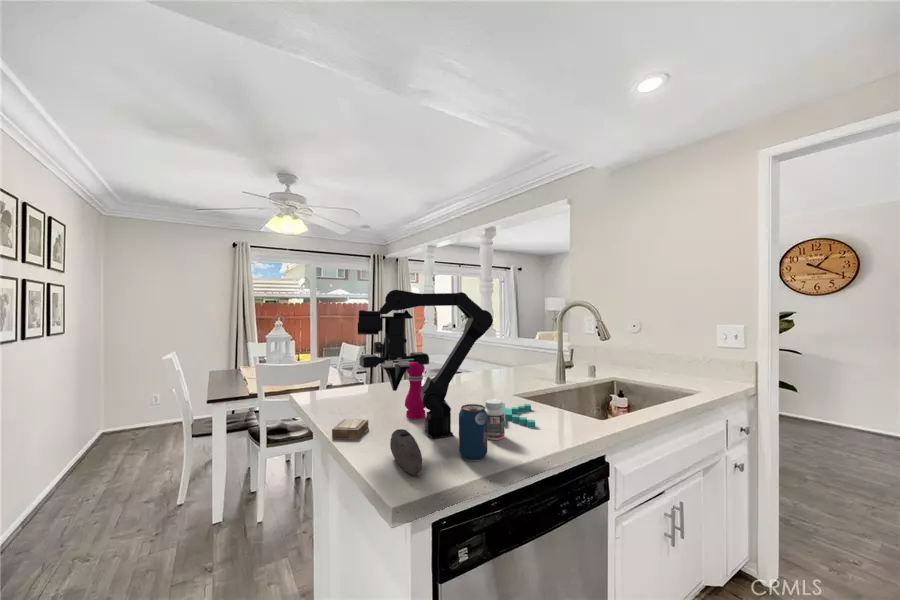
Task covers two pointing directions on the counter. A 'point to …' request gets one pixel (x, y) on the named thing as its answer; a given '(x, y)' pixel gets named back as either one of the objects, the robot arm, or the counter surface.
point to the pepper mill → (415, 391)
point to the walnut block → (350, 429)
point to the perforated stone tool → (406, 451)
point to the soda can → (473, 432)
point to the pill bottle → (495, 419)
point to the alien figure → (516, 418)
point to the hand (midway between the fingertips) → (394, 390)
